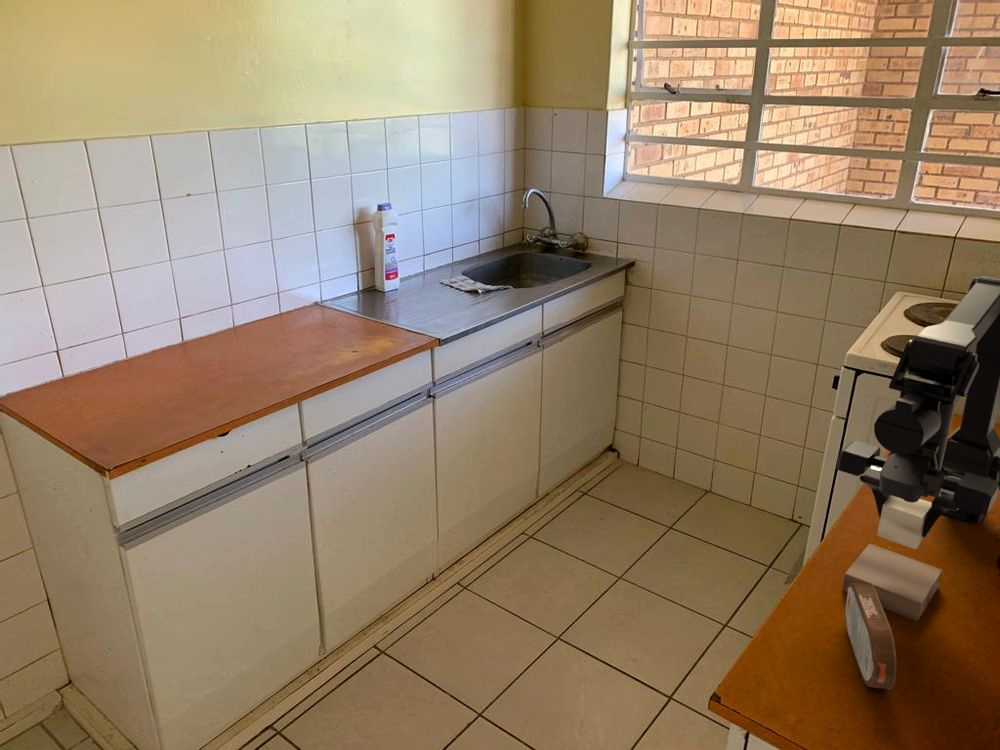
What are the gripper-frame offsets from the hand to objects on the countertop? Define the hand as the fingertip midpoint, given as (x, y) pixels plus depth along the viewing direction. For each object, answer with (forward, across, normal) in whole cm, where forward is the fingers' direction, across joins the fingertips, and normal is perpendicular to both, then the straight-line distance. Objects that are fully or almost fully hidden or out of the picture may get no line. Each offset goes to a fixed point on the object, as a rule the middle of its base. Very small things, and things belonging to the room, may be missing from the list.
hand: (903, 528), depth 105 cm
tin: (+10, +2, -17) cm, 20 cm away
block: (+1, 0, 0) cm, 1 cm away
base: (+10, 0, 0) cm, 10 cm away
